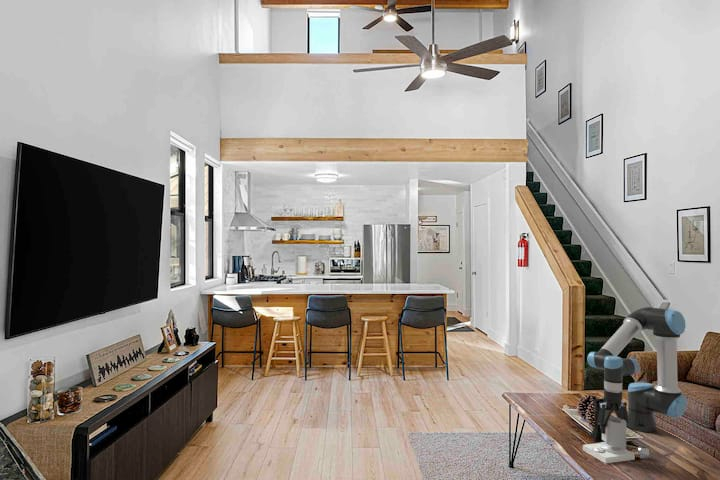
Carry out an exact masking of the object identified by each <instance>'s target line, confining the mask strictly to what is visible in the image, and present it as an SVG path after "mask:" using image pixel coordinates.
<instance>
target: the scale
mask: <svg viewBox="0 0 720 480" xmlns="http://www.w3.org/2000/svg"><path fill="white" fill-rule="evenodd" d="M582 451H583V452H585V453H587V454H589V455H590V456H592V457H593V458H595V459H598V460H599V461H600V462H603V463H604V464H611V463H618V462H627V461H634V460H635V459H636V458H635V457H636V456H635V455H636V454H635V453H633V451H632V452H631V450H628V449H627V448H626V447H623V448H618V447H613V446H610V445H608V444H606V442H596V443H589V444H583V445H582Z"/></svg>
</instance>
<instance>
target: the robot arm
mask: <svg viewBox="0 0 720 480" xmlns="http://www.w3.org/2000/svg"><path fill="white" fill-rule="evenodd" d="M623 319H624V320H623V321H622V322H623V323H622V325H621V326H620V327H619V328H618V329H617V330H616V331H615V333H613V335H612V336H611V337H610V338H609V339H608V340H607V341H606V342H605V344H604V345H603V346H602V347H601V348H600V349H599V350H598V351H590V352H589V353H588V354H587V357H586V358H587V359H586V360H587V364H588V365H589V366H590V367H592V368H595V369H597V370H598V369H599V370H602V371H604V372H603V374H604V378H603V389H604V390H603V399H604V398H605V402H604V403H599V414H598V419H597V424H598V425H600V426H601V433H602V440H604V441H606V442H607V440H608V427H606V425H607V423H608V420H609V417H611V415H612V414H613V412H615V416H616V417H617V418H620V419H621V420H622V419H624V420H625V421H626V427H627V426H628V427H627V428H629V429H631V430H634V431H637V432H644V433H645V432H646V433H654V432H657V431H658V424H657V423H656V419H655V415H654V413H658V414H660V415H664V416H667V417H671V418H675V419H676V418H677V419H678V418H681V417H682V416H683V415H684V413H686V410H687V406H688V399H687V397H686V396H685V395H683V394H682V389H681V388H679V387H678V386H679V385H678V342H677V341H678V339H680V337H681V335H682V334H684V333H685V330H686V320H685V317H684V316H683V313H681V312H680V311H678V310H675V309H674V310H673V309H670V308H659V307H650V306H644V307H641V308H638V309H636V310H634V311H632V312H631V313H629V314H628V315H627V316H626V317H625V318H623ZM643 330H644V331H645V330H648V331H652V335H653V336H654V338H655V339H656V368H657V375H656V376H657V384H656V385H655V386H654V384H653V383H650V382H631V383H629V384H628V387H627V388H628V389H627V396H628V397H627V399H628V400H627V402H626V401H624V400H623V377H627V376H633V375H635V374H636V373H638V372H639V370H640V365H639V363H638V361H637V360H636V359H634V358H631V357H626V358H623V357H620V356H619V354H620V353H621V352H622V351H623V350H624V348H625V347H626V346H627V345H628V344H629V343H630V342H631V341H632V339H634V337H635V336H636V335H637V334H640V333H641V332H643ZM627 407H628V408H627ZM603 423H604V424H603Z"/></svg>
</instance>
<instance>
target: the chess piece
mask: <svg viewBox="0 0 720 480" xmlns="http://www.w3.org/2000/svg"><path fill="white" fill-rule="evenodd" d="M591 399H592V404H594V407H593V410H594V427H592V430H591V433H590V434H589V435H590V437H591V438H592V439H593V441H594V442H596V443H601V442H605V441H604V440H602V433H601V426H600V425H598V424H597V419H598V414H599V403H604V402H605V398H604V397H603V398H597V397H596V395H591Z"/></svg>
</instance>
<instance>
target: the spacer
mask: <svg viewBox="0 0 720 480" xmlns="http://www.w3.org/2000/svg"><path fill="white" fill-rule="evenodd" d="M638 454H639V455H640V458H639V459H641V460H649V459H650V448H648V447H646V446H638V447H637V455H638Z"/></svg>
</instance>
